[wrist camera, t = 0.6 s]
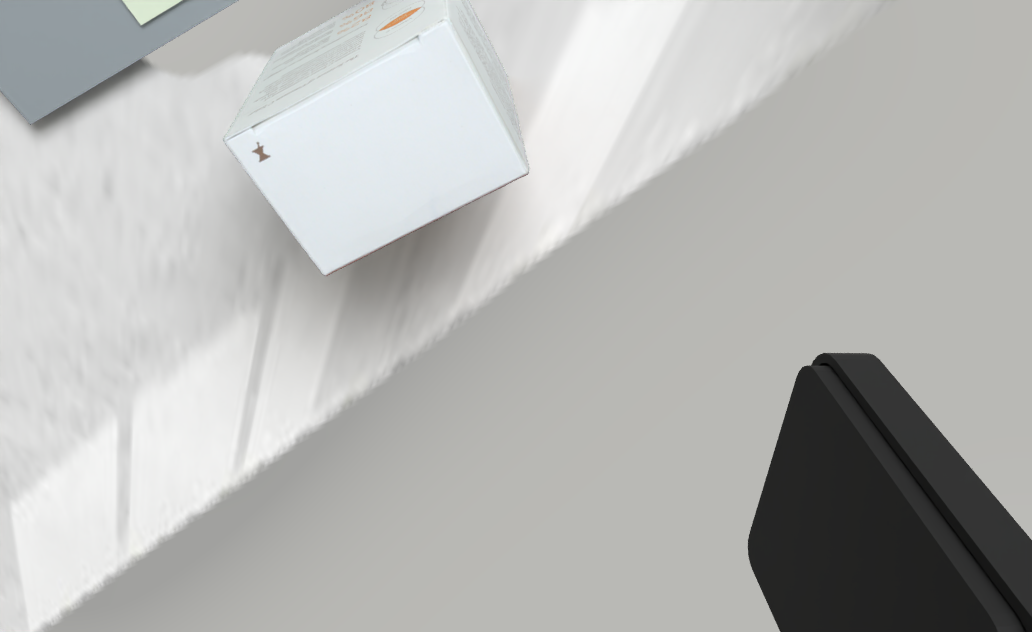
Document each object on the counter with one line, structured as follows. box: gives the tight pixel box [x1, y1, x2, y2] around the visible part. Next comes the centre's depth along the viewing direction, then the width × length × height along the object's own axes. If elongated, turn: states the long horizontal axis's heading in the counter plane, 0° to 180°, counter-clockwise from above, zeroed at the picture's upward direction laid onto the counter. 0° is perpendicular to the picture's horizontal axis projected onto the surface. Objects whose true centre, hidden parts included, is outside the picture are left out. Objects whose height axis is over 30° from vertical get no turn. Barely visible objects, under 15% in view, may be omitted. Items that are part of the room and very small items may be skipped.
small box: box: [223, 0, 529, 276], centre depth 31 cm, size 8×6×10 cm
